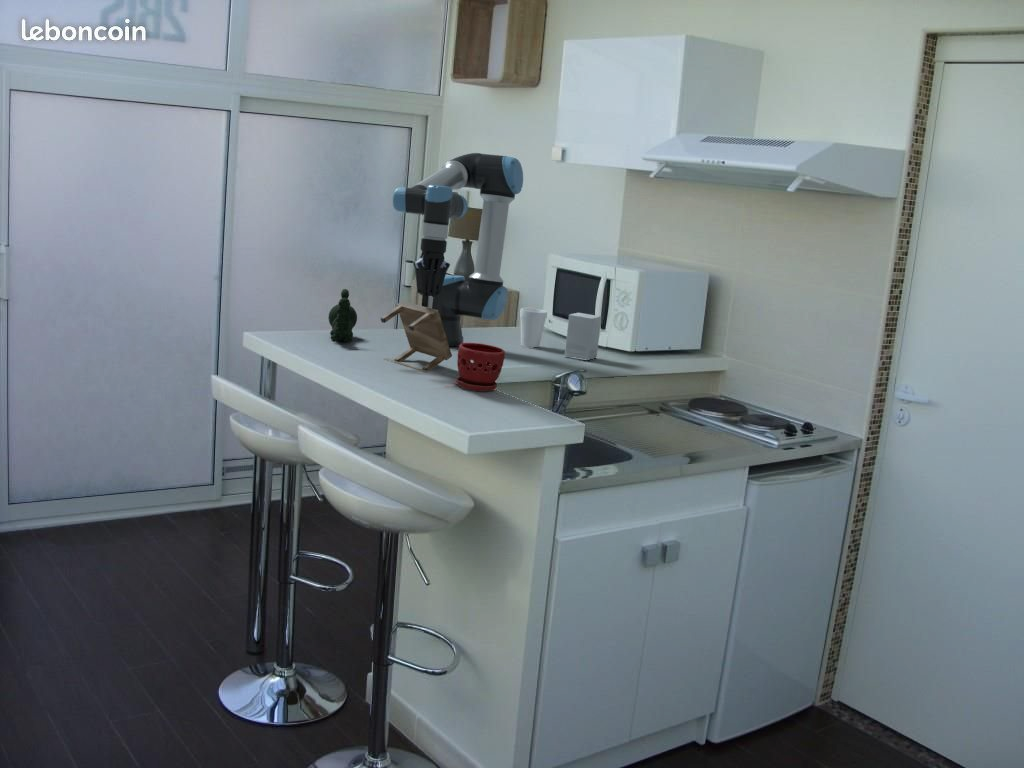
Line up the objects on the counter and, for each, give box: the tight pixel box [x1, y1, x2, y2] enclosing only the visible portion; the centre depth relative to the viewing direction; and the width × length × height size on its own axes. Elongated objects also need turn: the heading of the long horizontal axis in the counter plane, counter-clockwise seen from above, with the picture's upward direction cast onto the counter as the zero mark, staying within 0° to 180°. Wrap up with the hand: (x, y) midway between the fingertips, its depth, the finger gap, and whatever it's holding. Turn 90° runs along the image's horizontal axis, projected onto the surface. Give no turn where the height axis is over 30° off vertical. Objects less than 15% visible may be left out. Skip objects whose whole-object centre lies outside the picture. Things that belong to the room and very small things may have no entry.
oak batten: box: [383, 358, 430, 373], centre depth 328 cm, size 2×19×1 cm, turn 47°
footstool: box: [379, 300, 453, 371], centre depth 328 cm, size 10×16×16 cm, turn 46°
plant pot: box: [456, 342, 506, 392], centre depth 311 cm, size 13×13×12 cm
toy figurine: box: [327, 288, 358, 343], centre depth 363 cm, size 9×19×25 cm
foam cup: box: [519, 307, 548, 348], centre depth 389 cm, size 10×9×13 cm
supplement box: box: [564, 312, 602, 361], centre depth 378 cm, size 9×9×15 cm
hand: (426, 317), depth 329 cm, fingers closed
